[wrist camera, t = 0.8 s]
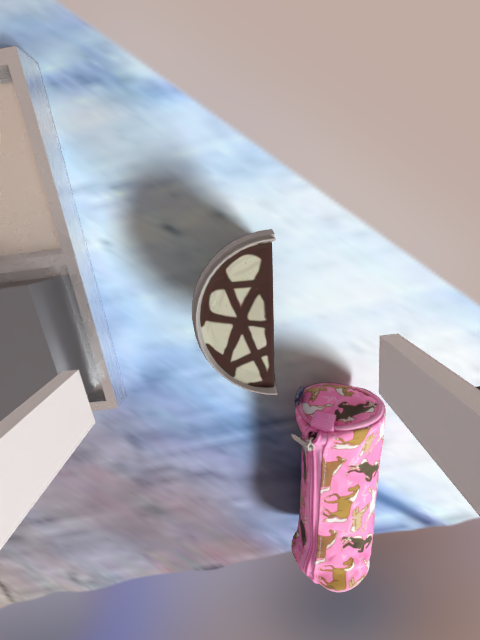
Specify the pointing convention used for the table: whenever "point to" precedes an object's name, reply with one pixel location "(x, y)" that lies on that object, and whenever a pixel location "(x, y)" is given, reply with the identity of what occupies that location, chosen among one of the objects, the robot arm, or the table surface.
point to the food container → (239, 313)
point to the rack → (47, 217)
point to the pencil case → (337, 482)
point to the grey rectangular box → (37, 339)
